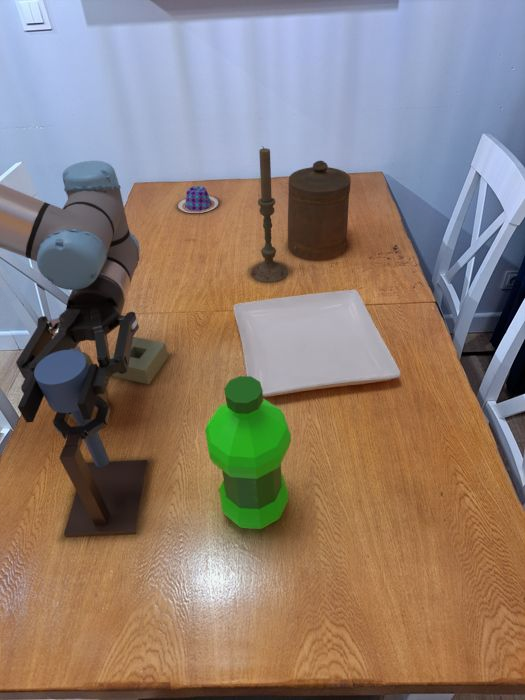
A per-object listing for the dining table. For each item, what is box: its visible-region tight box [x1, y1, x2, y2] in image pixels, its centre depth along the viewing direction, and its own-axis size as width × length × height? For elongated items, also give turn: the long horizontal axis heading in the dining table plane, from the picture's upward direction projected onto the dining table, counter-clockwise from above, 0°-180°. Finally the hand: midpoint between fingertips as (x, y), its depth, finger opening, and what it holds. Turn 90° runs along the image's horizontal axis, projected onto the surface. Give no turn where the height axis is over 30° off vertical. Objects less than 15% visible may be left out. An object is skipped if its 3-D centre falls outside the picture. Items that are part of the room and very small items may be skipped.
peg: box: [34, 350, 110, 468], centre depth 64 cm, size 6×6×19 cm
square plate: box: [232, 289, 402, 398], centre depth 95 cm, size 27×27×4 cm
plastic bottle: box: [204, 375, 292, 530], centre depth 63 cm, size 10×10×25 cm
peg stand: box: [52, 396, 150, 538], centre depth 68 cm, size 12×10×17 cm
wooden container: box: [287, 160, 352, 262], centre depth 119 cm, size 15×15×22 cm
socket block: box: [110, 336, 169, 385], centre depth 93 cm, size 8×8×4 cm
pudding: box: [177, 185, 219, 214], centre depth 145 cm, size 12×12×5 cm
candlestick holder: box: [250, 146, 289, 284], centre depth 108 cm, size 9×9×30 cm
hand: (54, 412), depth 56 cm, fingers closed on peg, 6 cm apart
